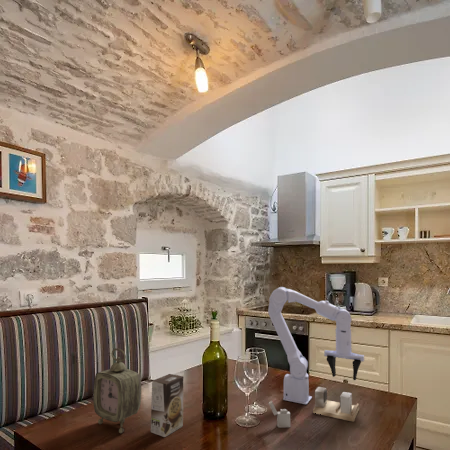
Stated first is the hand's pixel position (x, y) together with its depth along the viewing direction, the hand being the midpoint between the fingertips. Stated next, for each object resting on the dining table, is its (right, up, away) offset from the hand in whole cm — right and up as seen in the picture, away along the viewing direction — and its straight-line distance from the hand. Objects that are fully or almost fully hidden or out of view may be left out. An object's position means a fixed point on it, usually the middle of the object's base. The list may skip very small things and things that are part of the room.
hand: (344, 377), depth 139 cm
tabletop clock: (-81, -8, -18) cm, 84 cm away
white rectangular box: (-2, -8, -9) cm, 12 cm away
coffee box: (-64, -8, -21) cm, 68 cm away
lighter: (-28, -9, -18) cm, 34 cm away
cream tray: (-5, -9, -7) cm, 13 cm away
